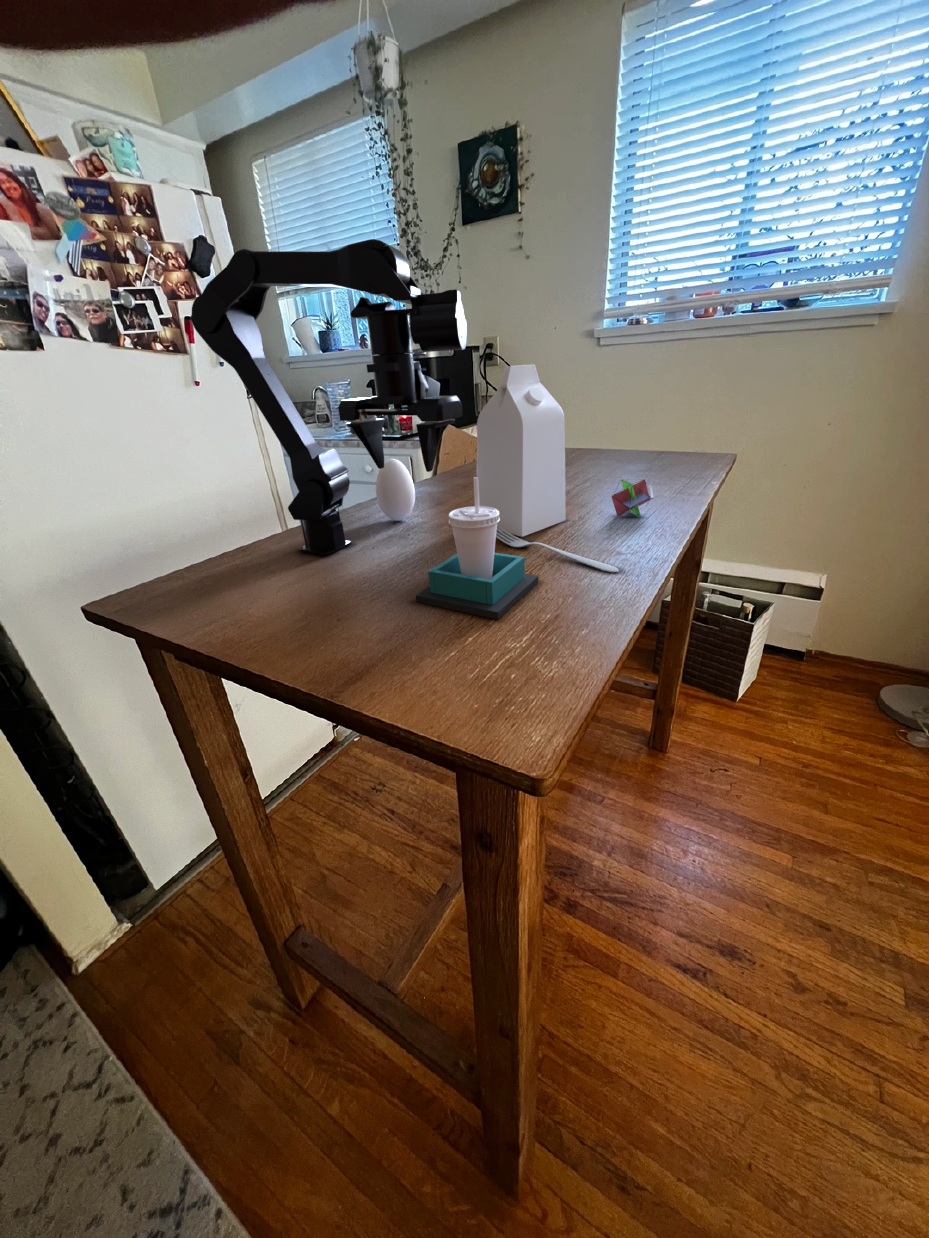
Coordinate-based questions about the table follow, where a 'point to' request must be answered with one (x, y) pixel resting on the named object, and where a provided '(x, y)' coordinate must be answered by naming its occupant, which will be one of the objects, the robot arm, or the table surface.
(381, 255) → the robot arm
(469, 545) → the smoothie
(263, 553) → the table surface
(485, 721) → the table surface
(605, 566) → the fork
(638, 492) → the geometric puzzle
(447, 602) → the dock pad
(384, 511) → the egg
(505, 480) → the milk
